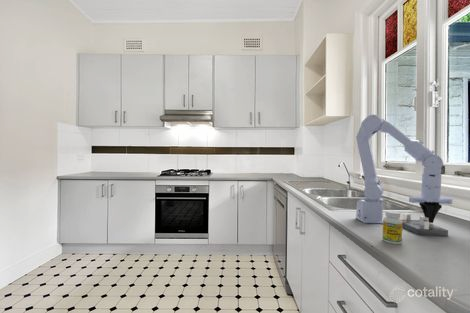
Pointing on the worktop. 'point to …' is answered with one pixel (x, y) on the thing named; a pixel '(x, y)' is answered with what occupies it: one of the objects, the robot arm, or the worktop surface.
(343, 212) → the worktop surface
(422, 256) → the worktop surface
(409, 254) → the worktop surface
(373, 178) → the robot arm
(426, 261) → the worktop surface
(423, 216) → the white slider knob
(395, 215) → the supplement bottle
